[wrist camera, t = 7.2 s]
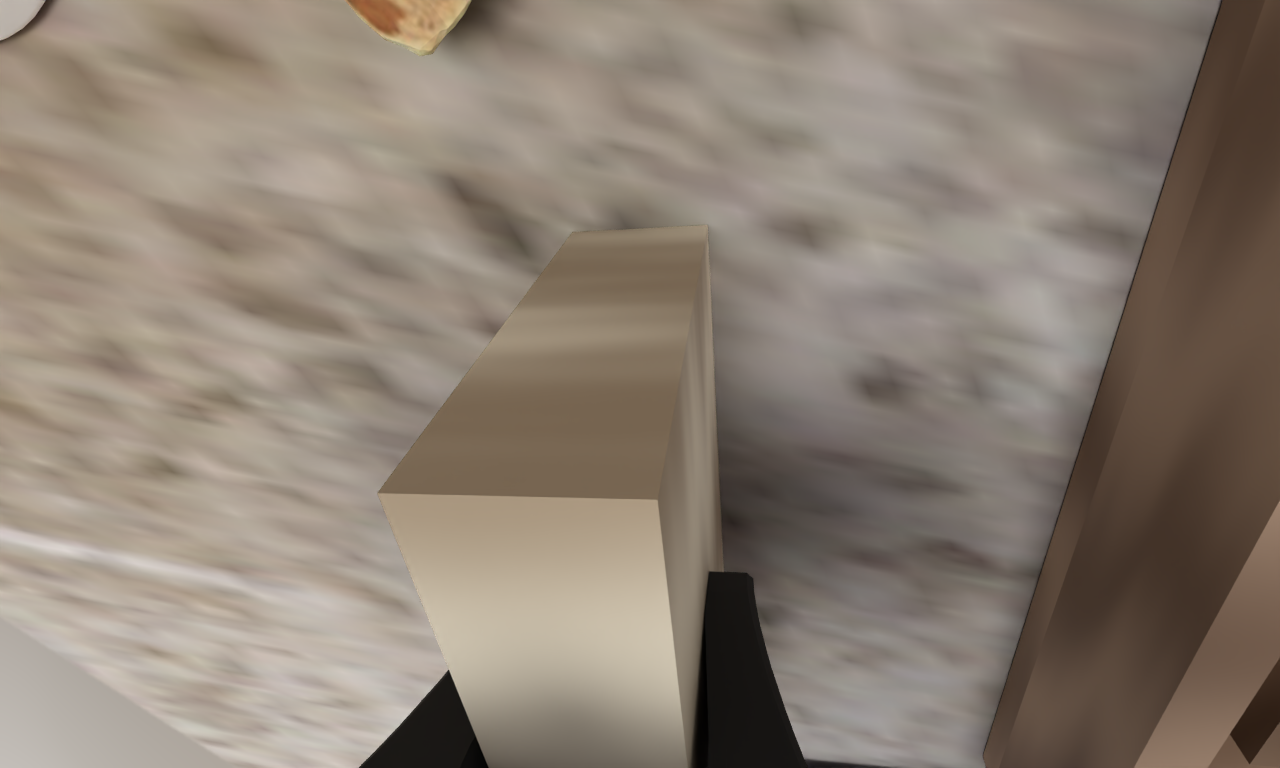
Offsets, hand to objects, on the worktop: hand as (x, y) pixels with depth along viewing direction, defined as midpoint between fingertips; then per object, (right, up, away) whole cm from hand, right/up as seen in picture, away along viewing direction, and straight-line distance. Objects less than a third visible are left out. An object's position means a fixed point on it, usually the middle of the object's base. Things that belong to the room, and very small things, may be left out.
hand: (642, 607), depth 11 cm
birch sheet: (+1, +1, +3) cm, 4 cm away
